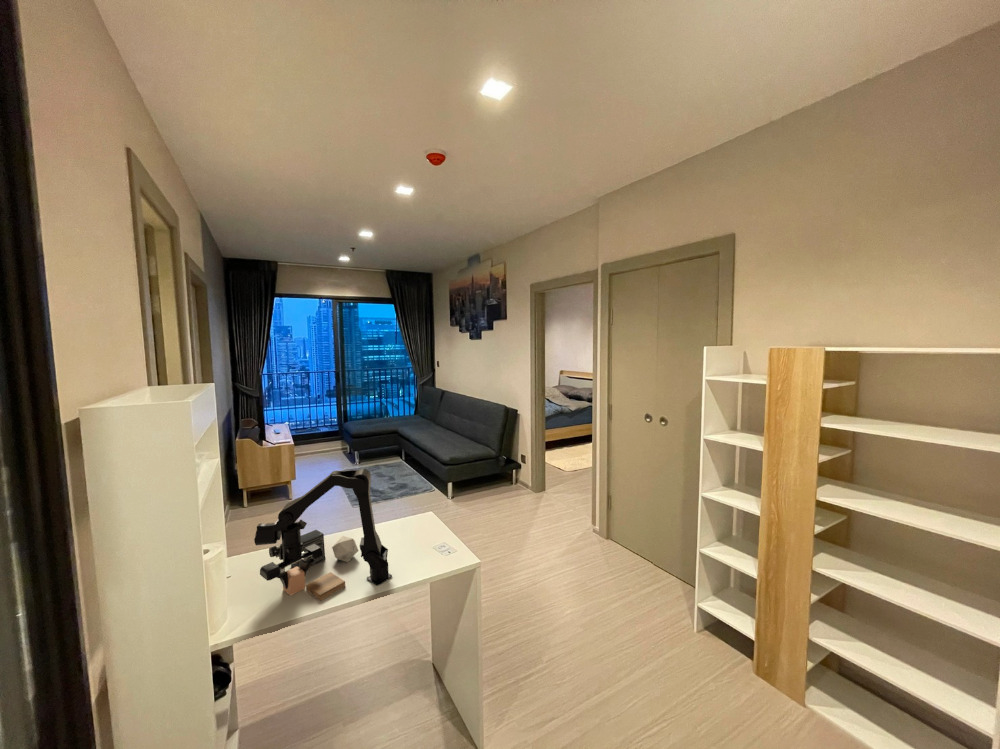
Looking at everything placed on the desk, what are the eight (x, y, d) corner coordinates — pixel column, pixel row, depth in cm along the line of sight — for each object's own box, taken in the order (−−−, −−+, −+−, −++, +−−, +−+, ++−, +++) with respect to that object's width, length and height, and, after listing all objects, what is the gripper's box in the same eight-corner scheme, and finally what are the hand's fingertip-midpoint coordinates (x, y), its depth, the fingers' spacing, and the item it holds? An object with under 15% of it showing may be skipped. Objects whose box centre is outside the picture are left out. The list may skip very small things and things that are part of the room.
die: (335, 569, 149) (351, 548, 149) (323, 551, 154) (338, 531, 153) (351, 566, 157) (366, 546, 157) (339, 549, 161) (354, 529, 161)
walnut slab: (345, 586, 138) (345, 581, 138) (320, 600, 131) (320, 594, 131) (330, 577, 144) (330, 571, 143) (306, 590, 137) (305, 584, 136)
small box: (317, 553, 159) (316, 528, 158) (326, 559, 155) (324, 533, 154) (290, 565, 151) (288, 539, 150) (298, 572, 147) (296, 545, 146)
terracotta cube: (305, 587, 138) (304, 571, 137) (290, 595, 134) (289, 578, 133) (298, 582, 141) (297, 566, 140) (283, 589, 137) (282, 573, 136)
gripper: (306, 523, 148) (308, 563, 149) (250, 545, 133) (254, 589, 134) (322, 532, 141) (324, 574, 143) (266, 556, 126) (269, 603, 128)
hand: (294, 584), depth 137 cm, fingers closed on terracotta cube, 5 cm apart
